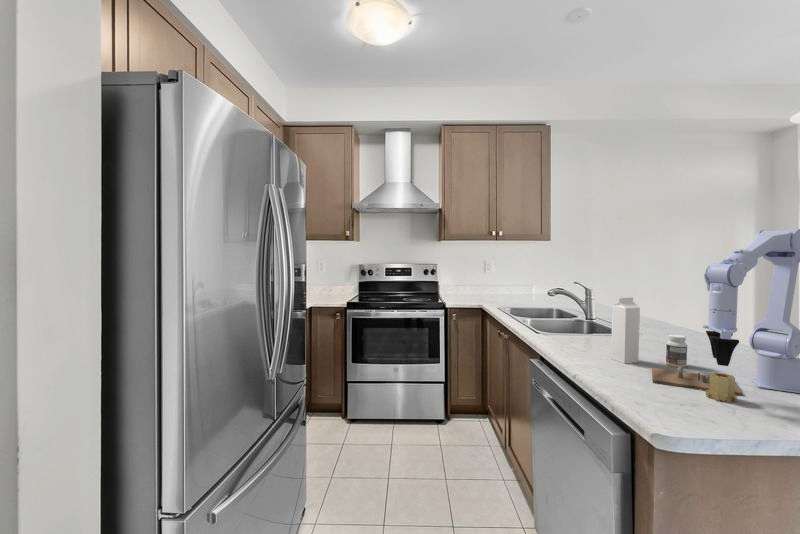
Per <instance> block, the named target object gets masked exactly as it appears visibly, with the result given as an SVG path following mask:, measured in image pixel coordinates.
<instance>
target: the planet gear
mask: <svg viewBox="0 0 800 534" xmlns="http://www.w3.org/2000/svg"><path fill="white" fill-rule="evenodd" d="M735 383H736V377H735V376H734V375H732V374H729V373H724V372H716V371H714V372H713V371H712V372H709V390H705V396H706V398H707V397H708V399H712V398H713V400H714V401H715V400H717V402H724V401H726V402H725V403H727V402H728V404H731V403H732V402H731V401H734V403H737V402H738V396H737V395H735V394H734V391H735ZM719 400H721V401H719Z"/></svg>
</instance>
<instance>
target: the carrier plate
mask: <svg viewBox="0 0 800 534" xmlns="http://www.w3.org/2000/svg"><path fill="white" fill-rule="evenodd" d="M709 373H710V372H709V371H708V372H707V371H705V372H703V371H698V372H697V373H694V372H687V371H684V367H677V370H671V369H665V368H664V369H663V368H656V367H651V376H652V379H651V380H652V384H660V385H665V386H672V387H679V386H680V387H681V388H685V387H687V389H692V388H693V389H694V390H699V389H701V391H706V390H709ZM680 387H679V388H680ZM734 394H735V395H736V396H739V395H740V396H741V397H742V395H743V392H742V390H741V389H740V387H739V386H738V385H737V383H736V382H735V391H734Z"/></svg>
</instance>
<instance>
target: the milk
mask: <svg viewBox="0 0 800 534" xmlns="http://www.w3.org/2000/svg"><path fill="white" fill-rule="evenodd" d="M640 313H641V308H640V306H639V305H638V304H636V303H635V302H634V297H632V296H630V297H619V298H618V302H616V303H615V304H613V305H612V309H611V343H610V345H611V346H610V360H613V361H615V362H619V363H621V364H635V363H639V355H640V353H639V351H640V349H639V348H640V322H641V321H640Z"/></svg>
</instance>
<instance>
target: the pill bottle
mask: <svg viewBox="0 0 800 534" xmlns="http://www.w3.org/2000/svg"><path fill="white" fill-rule="evenodd" d="M686 338H687V337H686V336H685V335H682V334H669V335H668V341H667V342H666V345H665V346H666V347H665V349H666V351H665V353H666V355H665V363H666V365H668V366H670V367H675V368H678V367H683V368H685V367H687V361H688V344H687V343H686V340H687V339H686Z"/></svg>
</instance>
